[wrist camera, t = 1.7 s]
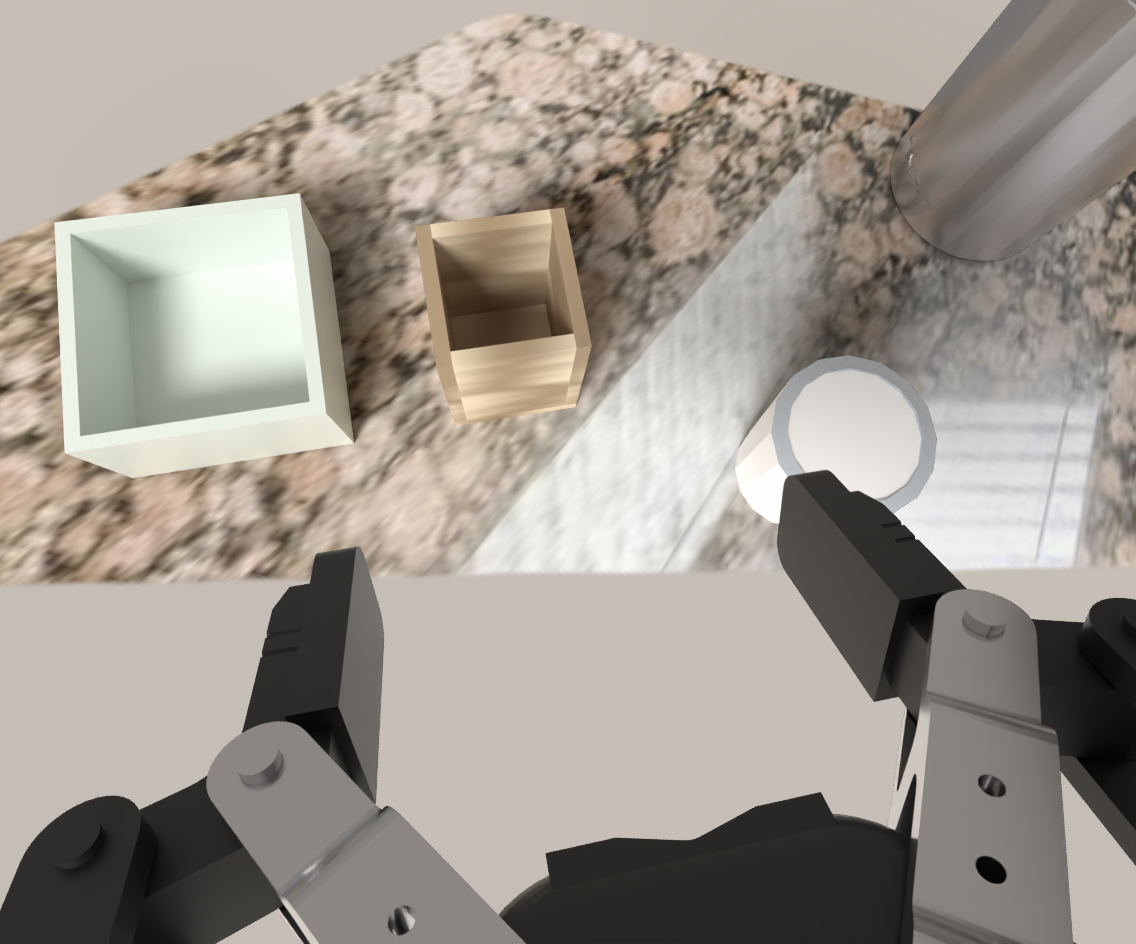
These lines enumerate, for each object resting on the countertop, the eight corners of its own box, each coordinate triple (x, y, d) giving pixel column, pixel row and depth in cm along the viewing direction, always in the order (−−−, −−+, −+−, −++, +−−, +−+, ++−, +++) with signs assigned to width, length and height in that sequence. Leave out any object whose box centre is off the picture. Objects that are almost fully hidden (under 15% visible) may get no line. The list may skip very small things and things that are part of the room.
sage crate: (329, 251, 36) (299, 193, 31) (354, 443, 34) (326, 413, 29) (119, 278, 35) (54, 222, 30) (132, 478, 33) (64, 453, 28)
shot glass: (751, 383, 36) (805, 327, 29) (875, 438, 36) (959, 395, 29) (702, 504, 34) (747, 475, 28) (831, 562, 34) (909, 547, 27)
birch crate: (554, 296, 36) (564, 207, 28) (575, 407, 35) (592, 345, 27) (437, 312, 36) (414, 226, 28) (455, 425, 34) (436, 368, 27)
